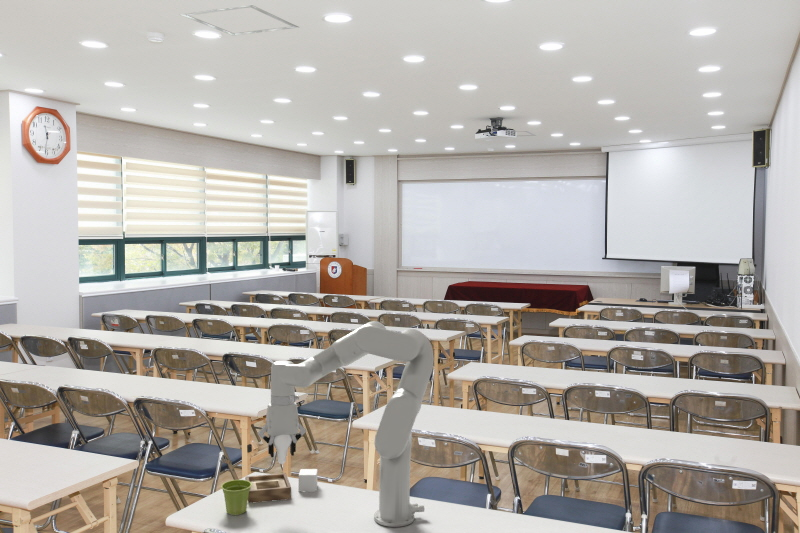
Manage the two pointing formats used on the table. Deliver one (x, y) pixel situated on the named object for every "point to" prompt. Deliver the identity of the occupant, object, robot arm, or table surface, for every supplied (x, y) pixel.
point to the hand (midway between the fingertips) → (282, 454)
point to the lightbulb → (282, 446)
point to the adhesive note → (308, 480)
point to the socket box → (269, 487)
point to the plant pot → (236, 496)
